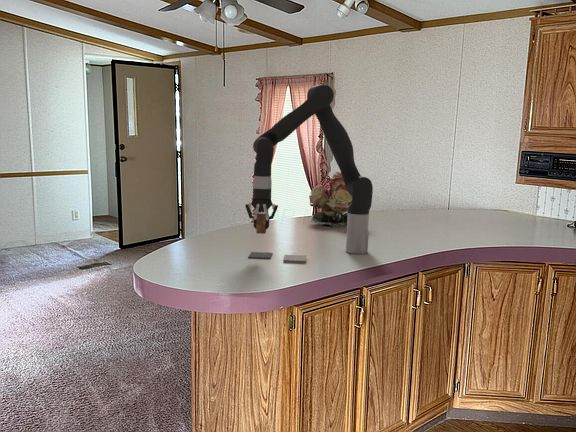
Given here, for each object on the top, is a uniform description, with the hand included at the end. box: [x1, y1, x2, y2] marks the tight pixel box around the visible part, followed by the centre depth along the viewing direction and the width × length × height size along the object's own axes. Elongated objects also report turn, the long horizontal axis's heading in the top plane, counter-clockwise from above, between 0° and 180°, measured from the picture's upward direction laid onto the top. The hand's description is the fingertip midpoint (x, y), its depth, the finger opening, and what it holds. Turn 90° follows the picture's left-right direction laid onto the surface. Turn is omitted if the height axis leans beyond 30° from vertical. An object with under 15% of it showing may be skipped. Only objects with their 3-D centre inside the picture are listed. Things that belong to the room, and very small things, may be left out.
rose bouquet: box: [308, 171, 352, 228], centre depth 303 cm, size 26×29×30 cm
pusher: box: [255, 212, 267, 235], centre depth 217 cm, size 4×4×8 cm
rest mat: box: [248, 251, 273, 260], centre depth 219 cm, size 9×9×1 cm
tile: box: [282, 254, 307, 264], centre depth 213 cm, size 9×2×9 cm
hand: (261, 228), depth 217 cm, fingers closed on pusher, 3 cm apart
